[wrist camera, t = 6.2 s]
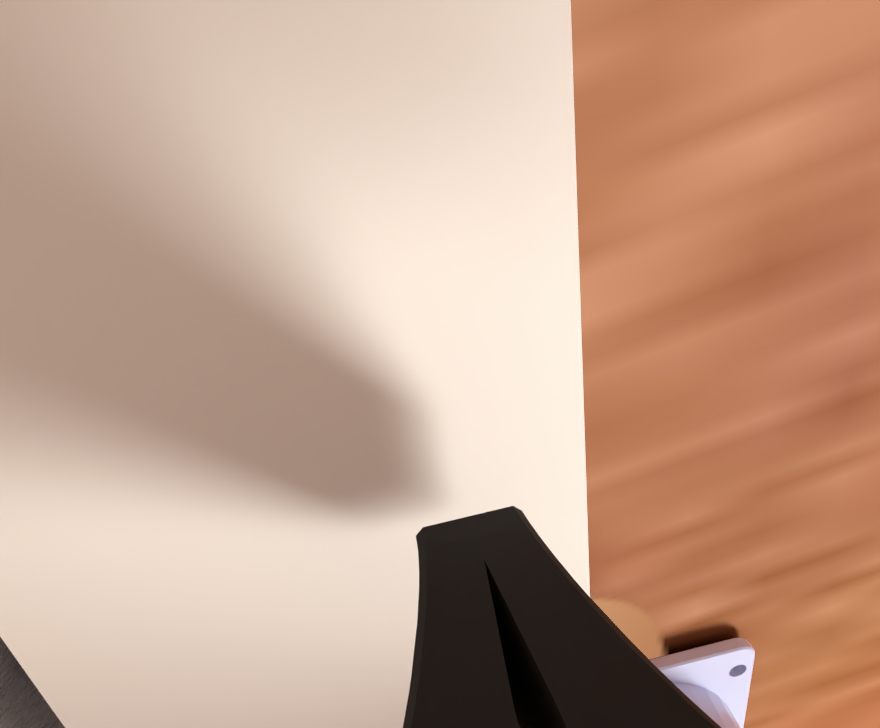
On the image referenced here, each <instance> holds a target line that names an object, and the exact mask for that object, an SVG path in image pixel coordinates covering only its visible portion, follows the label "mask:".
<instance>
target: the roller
mask: <svg viewBox="0 0 880 728" xmlns="http://www.w3.org/2000/svg"><path fill="white" fill-rule="evenodd" d="M0 728H65V727H64V726H63V724H62V723H61V721H60V720H59V719H58V717H57V716H56V714H55V713H54V712H53V710H52V709H51V707H50V706H49V705H48V703H47V702H46V700H45V699H44V698H43V696H42V695H41V693H40V692H39V691H38V689H37V688H36V686H35V685H34V683H33V682H32V681H31V679H30V678H29V676H28V675H27V674H26V672H25V671H24V669H23V668H22V667H21V665H20V664H19V662H18V661H17V660H16V658H15V657H14V655H13V654H12V653H11V651H10V650H9V648H8V647H7V645H6V644H5V643H4V641H3V640H2V638H1V637H0Z"/></svg>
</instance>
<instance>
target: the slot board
mask: <svg viewBox="0 0 880 728" xmlns="http://www.w3.org/2000/svg"><path fill="white" fill-rule="evenodd" d="M510 506H515V507H516V508H518V509H520V510H522V512H523V513H524V515H525V516H526V518H527V519H528V521H529V522H530V524H531V525H532V526H533V528H534V529H535V531H536V532H537V533H538V535H539V536H540V537H541V539H542V540H543V541H544V543H545V544H546V545H547V547H548V548H549V549H550V550H551V552H552V553H553V554H554V556H555V557H556V558H557V559H558V561H559V562H560V563H561V564H562V565H563V567H564V568H565V569H566V570H567V571H568V573H569V574H570V575H571V576H572V577H573V579H574V580H575V581H576V582H577V583H578V584H579V586H580V587H581V588H582V589H583V590H584V591H585V592H586V594H587V595H588V596H589V597H590V582H589V552H588V521H587V490H586V460H585V429H584V398H583V368H582V337H581V306H580V276H579V245H578V214H577V184H576V153H575V122H574V92H573V61H572V30H571V0H0V637H1V638H2V640H3V641H4V643H5V644H6V645H7V647H8V648H9V650H10V651H11V653H12V654H13V655H14V657H15V658H16V660H17V661H18V662H19V664H20V665H21V667H22V668H23V669H24V671H25V672H26V674H27V675H28V676H29V678H30V679H31V681H32V682H33V683H34V685H35V686H36V688H37V689H38V691H39V692H40V693H41V695H42V696H43V698H44V699H45V700H46V702H47V703H48V705H49V706H50V707H51V709H52V710H53V712H54V713H55V714H56V716H57V717H58V719H59V720H60V721H61V723H62V724H63V726H64V727H65V728H403V724H404V718H405V712H406V707H407V701H408V695H409V689H410V682H411V674H412V665H413V656H414V647H415V638H416V629H417V618H418V599H419V558H418V547H417V540H416V535H417V534H418V533H419V531H420V530H421V529H422V528H423V527H426V526H430V525H435V524H439V523H443V522H447V521H451V520H456V519H460V518H464V517H468V516H472V515H476V514H481V513H485V512H489V511H493V510H497V509H502V508H506V507H510Z"/></svg>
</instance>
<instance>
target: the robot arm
mask: <svg viewBox="0 0 880 728" xmlns="http://www.w3.org/2000/svg"><path fill="white" fill-rule="evenodd" d="M416 540H417V547H418V558H419V599H418V618H417V629H416V638H415V647H414V656H413V665H412V674H411V682H410V689H409V695H408V701H407V707H406V712H405V718H404V724H403V728H743V727H744V720H745V714H746V708H747V701H748V695H749V689H750V682H751V676H752V670H753V664H754V657H755V651H754V649H753V647H752V646H751V644H750V643H749V641H748V640H746V639H744V638H732V639H728V640H724V641H720V642H716V643H713V644H709V645H705V646H701V647H697V648H693V649H689V650H685V651H681V652H677V653H673V654H670V655H666V656H662V657H658V658H654V659H650V660H649V659H648V658H647V657H646V656H645V655H644V654H643V653H642V652H641V651H640V650H639V649H638V648H637V647H636V646H635V645H634V644H633V643H632V642H631V641H630V640H629V639H628V638H627V637H626V636H625V635H624V634H623V633H622V632H621V631H620V629H619V628H618V627H617V626H616V625H615V624H614V623H613V622H612V621H611V620H610V619H609V618H608V616H607V615H606V614H605V613H604V612H603V611H602V610H601V609H600V608H599V607H598V606H597V605H596V604H595V602H594V601H593V600H592V599H591V598H590V597H589V596H588V595H587V594H586V592H585V591H584V590H583V589H582V588H581V587H580V586H579V584H578V583H577V582H576V581H575V580H574V579H573V577H572V576H571V575H570V574H569V573H568V571H567V570H566V569H565V568H564V567H563V565H562V564H561V563H560V562H559V561H558V559H557V558H556V557H555V556H554V554H553V553H552V552H551V550H550V549H549V548H548V547H547V545H546V544H545V543H544V541H543V540H542V539H541V537H540V536H539V535H538V533H537V532H536V531H535V529H534V528H533V526H532V525H531V524H530V522H529V521H528V519H527V518H526V516H525V515H524V513H523V512H522V510H520V509H518V508H516V507H515V506H510V507H506V508H502V509H497V510H493V511H489V512H485V513H481V514H476V515H472V516H468V517H464V518H460V519H456V520H451V521H447V522H443V523H439V524H435V525H430V526H426V527H423V528H422V529H421V530H420V531H419V533H418V534H417V535H416Z"/></svg>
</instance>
